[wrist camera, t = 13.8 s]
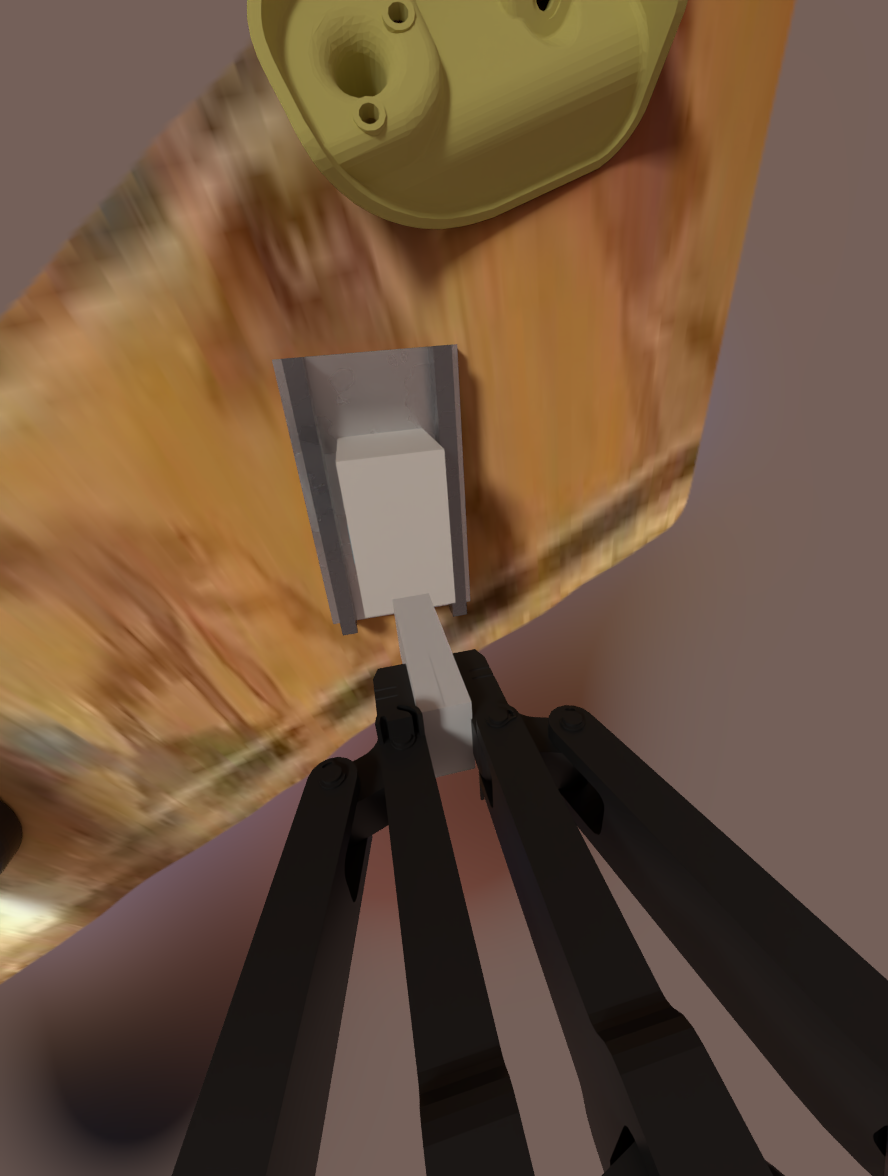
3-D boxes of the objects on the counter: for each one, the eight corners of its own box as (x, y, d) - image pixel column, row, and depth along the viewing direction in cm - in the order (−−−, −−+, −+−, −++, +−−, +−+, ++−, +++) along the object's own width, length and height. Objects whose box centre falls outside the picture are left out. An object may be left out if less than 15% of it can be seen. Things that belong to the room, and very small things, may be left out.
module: (360, 566, 35) (364, 618, 29) (336, 437, 31) (334, 462, 24) (434, 555, 36) (456, 602, 29) (423, 428, 32) (445, 449, 25)
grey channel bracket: (333, 616, 38) (333, 637, 36) (274, 359, 29) (267, 360, 26) (467, 594, 40) (476, 612, 37) (453, 344, 30) (464, 343, 28)
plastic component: (615, -219, 20) (707, 3, 20) (559, -3, 27) (628, 154, 28) (206, -47, 19) (317, 179, 19) (264, 128, 26) (343, 287, 27)
